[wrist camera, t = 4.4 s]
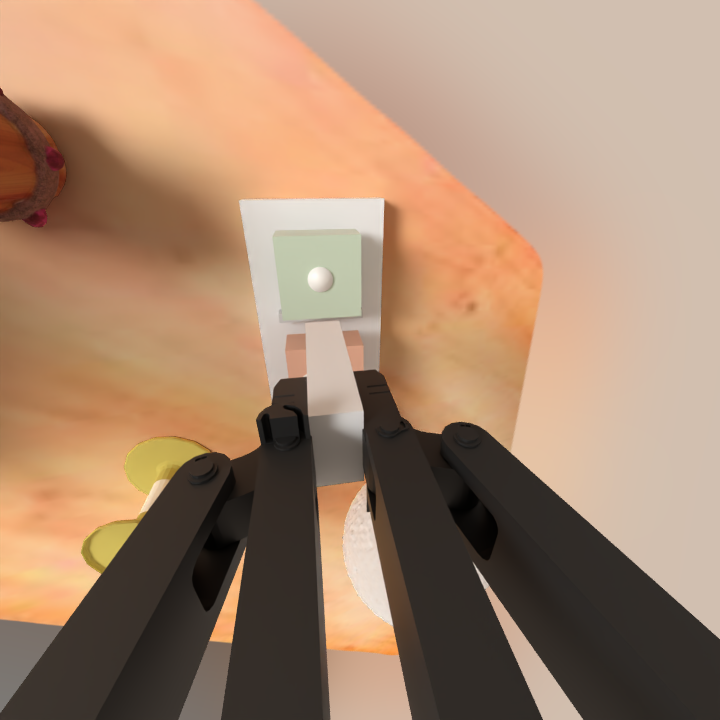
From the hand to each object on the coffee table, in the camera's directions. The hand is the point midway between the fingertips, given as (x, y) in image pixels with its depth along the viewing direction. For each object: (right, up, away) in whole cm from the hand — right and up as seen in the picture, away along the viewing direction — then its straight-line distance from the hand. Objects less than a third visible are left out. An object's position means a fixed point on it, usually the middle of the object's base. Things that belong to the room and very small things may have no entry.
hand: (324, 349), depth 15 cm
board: (-2, +1, +18) cm, 18 cm away
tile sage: (-2, +7, +11) cm, 13 cm away
